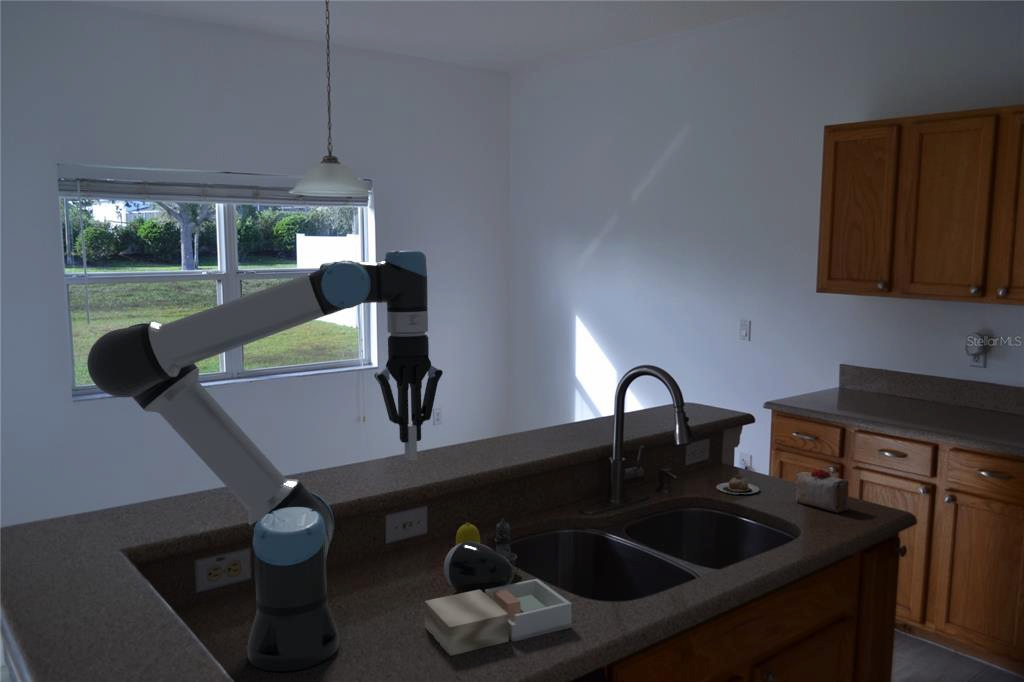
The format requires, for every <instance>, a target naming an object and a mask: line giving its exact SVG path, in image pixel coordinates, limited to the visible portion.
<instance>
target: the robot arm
mask: <svg viewBox="0 0 1024 682" xmlns="http://www.w3.org/2000/svg"><path fill="white" fill-rule="evenodd" d="M368 303H369V304H372V303H379V304H383V303H386V315H387V317H386V320H387V322H386V323H387V325H386V326H387V328H386V329H387V333H389V334H390V335H389V336H388V337H387V356H388V358H387V362H386V364H385V367H384V368H383V369H382V370H381V371H380V372H375V373H374V379H375V380H376V382H378V384H379V385H380V389H381V393H382V397H383V401H384V404H385V408H386V411H387V415H388V419H389V420H388V421H390V422H392V423H393V424H395V425H396V424H397V425H398V426H399V428H398V429H399V441H400V442H401V443H402V444H404V459H406V460H407V461H417V460H418V442H420V441H421V440H422V426H423V424H424V422H426V421H430V420H431V417H432V413H433V409H434V408H433V407H434V404H435V398H436V394H437V389H438V383H439V381H440V379H441V378H442V375H443V370H442V369H439V368H436V367H435V366H433V365H432V362H431V360H430V357H429V353H430V352H429V350H430V348H429V344H430V343H429V336H428V335H427V334H426V333H427V332H428V331H429V319H428V318H429V312H428V267H427V256H426V255H425V254H424V253H423V252H422V251H420V250H390V251H389V250H388V251H387V252H386V253H385V258H384V261H375V262H372V261H371V262H366V261H365V262H364V261H352V260H341V261H333V262H323V263H322V264H321V265H320V266H319V269H318V270H315V271H313V272H310V273H306V274H304V275H301V276H298V277H295V278H293V279H289V280H287V281H284V282H282V283H281V282H280V283H278V284H276V285H273V286H270V287H267V288H265V289H262V290H259V291H255V292H253V293H250V294H247V295H244V296H242V297H238V298H235V299H233V300H230V301H227V302H224V303H221V304H219V305H217V306H213V307H210V308H207V309H205V310H202V311H199V312H196V313H193V314H190V315H187V316H184V317H182V318H179V319H176V320H173V321H170V322H168V323H165V324H161V323H159V322H158V321H152V322H146V323H143V322H141V323H138V324H132V325H130V326H128V327H124V328H118V329H114V330H111V331H108V332H107V333H105V334H103V335H102V336H100V337H99V338H98V339H97V340H96V341H95V342H94V343H93V345H92V346H91V348H90V349H89V352H88V355H87V362H86V363H87V371H88V375H89V377H90V379H91V380H92V383H94V386H96V387H97V388H98V389H99V390H101V391H102V392H104V393H106V394H107V395H110V396H113V397H118V398H132V399H133V400H134V401H135V403H137V404H138V406H139V407H140V408H142V410H143V411H145V412H151V413H152V412H153V413H158V414H160V415H161V417H162V418H163V419H164V420H165V421H166V422H167V424H168V425H170V426H171V428H172V429H173V430H174V431H175V433H176V434H178V435H179V436H180V438H182V440H183V441H184V442H185V443H186V444H187V445H188V446H189V448H190V449H192V451H193V452H194V453H195V454H196V455H197V456H198V457H199V458H200V459H201V461H202V462H203V463H204V464H205V465H206V467H208V468H209V469H210V470H211V471H212V472H213V474H215V476H216V477H217V478H218V479H219V480H220V481H221V482H222V484H224V486H225V487H226V488H227V489H228V490H229V491H230V492H231V493H232V494H233V495H234V496H235V497H236V499H237V500H238V501H239V502H240V503H241V504H242V505H243V506H244V507H245V509H246V510H247V511H248V517H247V519H248V520H247V523H248V525H249V526H250V527H251V528H252V530H253V537H252V547H253V553H254V554H253V555H254V573H255V574H254V577H255V595H256V596H255V598H256V613H255V617H254V620H253V623H252V626H251V630H250V633H249V636H248V637H249V638H248V642H247V648H246V649H247V658H248V659H247V660H248V661H249V663H250V664H251V665H252V666H254V667H256V668H258V669H259V670H263V671H269V672H270V671H271V672H293V671H299V670H305V669H308V668H311V667H315V666H317V665H319V664H321V663H323V662H325V661H327V660H329V659H330V658H332V657H333V656H334V655H335V654H336V653H337V651H338V650H339V647H340V637H339V636H340V635H339V630H338V626H337V623H336V622H335V619H334V616H333V614H332V611H331V608H330V606H329V604H328V603H329V602H328V591H327V590H328V587H327V585H328V584H327V582H328V581H327V555H328V552H329V548H330V544H331V543H332V539H333V536H334V533H335V531H334V530H335V520H334V514H333V511H332V508H331V506H330V505H329V503H328V502H327V501H326V500H325V499H324V498H323V497H322V496H320V495H318V494H316V493H313V492H311V491H309V490H308V489H307V488H306V487H305V486H304V485H303V484H302V482H301V481H300V480H299V479H296V478H294V479H292V478H286V477H285V475H284V474H282V473H281V472H280V471H279V470H278V468H277V467H276V466H275V465H274V464H273V463H272V461H270V459H269V458H268V457H267V456H266V455H265V454H264V452H262V451H261V449H260V448H259V447H258V446H257V445H256V444H255V443H254V442H253V441H252V439H251V438H250V437H249V436H248V435H247V434H246V433H245V432H244V431H243V429H242V428H241V427H240V426H239V425H238V424H237V422H235V420H234V419H233V418H232V417H231V416H230V415H229V414H228V413H227V411H226V410H225V409H224V408H223V407H222V406H221V404H219V403H218V402H217V401H216V399H214V397H213V396H212V395H211V394H210V392H209V391H208V390H207V389H206V388H205V387H204V386H203V385H202V384H201V383H200V380H199V375H200V369H199V368H198V366H197V365H196V363H199V362H202V361H204V360H207V359H210V358H212V357H216V356H218V355H221V354H223V353H226V352H229V351H231V350H234V349H238V348H240V347H242V346H247V345H248V344H251V343H254V342H256V341H259V340H262V339H265V338H267V337H270V336H273V335H276V334H279V333H282V332H285V331H286V330H290V329H293V328H295V327H298V326H301V325H303V324H306V323H309V322H312V321H315V320H318V319H321V318H323V317H326V316H329V315H333V314H335V313H338V312H340V311H344V310H347V309H352V308H354V307H357V306H359V305H362V304H368ZM390 375H391V377H392V378H393V379H394V381H395V382H396V388H397V405H396V402H395V398H394V394H393V390H392V388H391V384H390V379H391V377H390ZM426 375H427V377H428V378H427V381H426V385H425V391H424V395H423V401H422V388H423V382H422V381H423V380H424V378H425V377H426ZM409 388H410V389H409ZM409 390H410V412H411V413H409ZM409 414H411V417H410V418H411V422H409V416H410V415H409Z"/></svg>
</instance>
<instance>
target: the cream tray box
mask: <svg viewBox="0 0 1024 682" xmlns="http://www.w3.org/2000/svg"><path fill="white" fill-rule="evenodd" d="M424 625H425V626H424V627H425V629H426V630H427V631H428V632H429V633H430V635H431V634H432V635H433V636H434V637H433V636H432V635H431V636H432V637H433V638H434V639H435V640H436V642H439V643H440V644H439V643H438V644H439V645H440V646H441V647H442V649H444V651H445V652H447V654H448V655H449V656H456V655H460V654H464V653H467V652H473V651H476V650H479V649H483V648H488V647H491V646H496V645H500V644H503V643H508V642H510V641H509V640H510V639H509V627H508V613H507V612H506V611H504V610H503V609H502V608H501V607H500V606H499V605H497V604H496V603H495V602H494V601H493V600H492V599H490V598H489V597H488V596H487V595H486V594H485V593H484V592H482V591H481V590H480V589H479V590H474V591H470V592H465V593H460V592H459V593H457V594H451V595H447V596H441V597H438V598H433V599H428V600H424Z"/></svg>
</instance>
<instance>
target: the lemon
mask: <svg viewBox="0 0 1024 682" xmlns="http://www.w3.org/2000/svg"><path fill="white" fill-rule="evenodd" d="M466 541H473V542H477V543H480V544H481V536H480V531H479V529H478V527H476V526H475V525H474V524H471V523H470V522H466V523H465V524H463V525H461V526H460V527H459V528H458V530H457V532H456V535H455V546H456V545H458V544H461V543H464V542H466Z"/></svg>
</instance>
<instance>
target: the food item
mask: <svg viewBox="0 0 1024 682" xmlns="http://www.w3.org/2000/svg"><path fill="white" fill-rule="evenodd" d="M794 477H795V478H794V481H795V491H796V492H795V494H796V495H795V496H796V498H795V499H796V500H795V502H796V503H798V504H800V505H801V504H802V505H806V506H810V507H814V508H818V509H822V510H825V511H830V512H833V513H837V514H839V513H841V512H843V511H845V512H846V511H847V510H848V509H849V483H850V482H849V480H846V479H842V478H840V477H839V478H838V477H835V476H831V474H830V472H828V468H827V469H825V470H822V469H820V470H819V469H818V470H816V471H815V470H813V472H809V471H808V472H807V471H800V472H798V473H796V474H795V475H794Z"/></svg>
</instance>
